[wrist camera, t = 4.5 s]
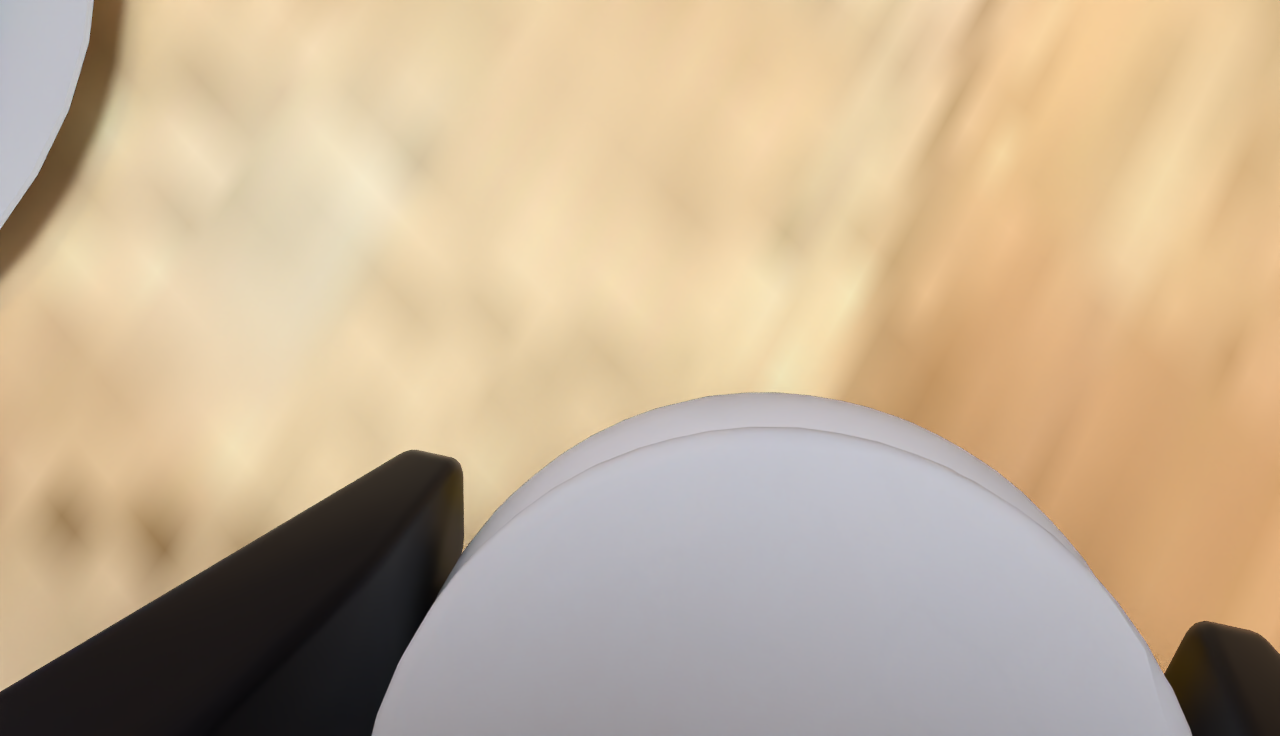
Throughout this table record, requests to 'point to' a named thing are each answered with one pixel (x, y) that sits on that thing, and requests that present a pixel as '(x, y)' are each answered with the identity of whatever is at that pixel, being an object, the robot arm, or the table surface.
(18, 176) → the pudding
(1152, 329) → the table surface
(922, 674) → the supplement bottle
